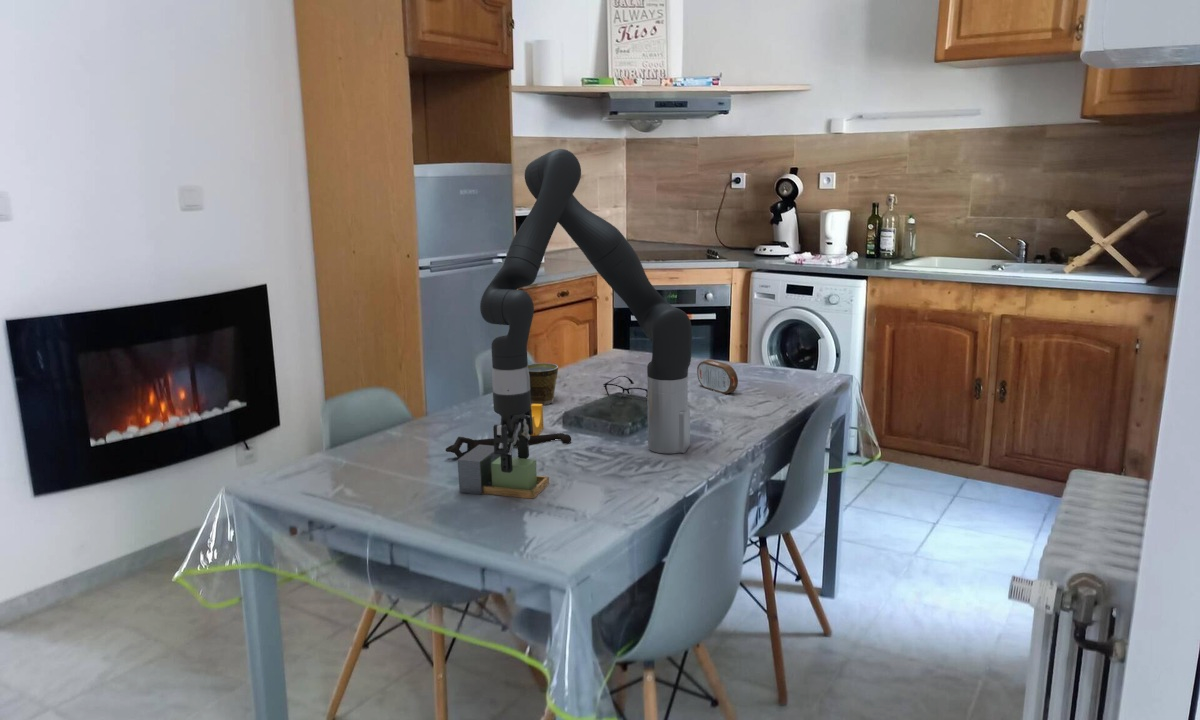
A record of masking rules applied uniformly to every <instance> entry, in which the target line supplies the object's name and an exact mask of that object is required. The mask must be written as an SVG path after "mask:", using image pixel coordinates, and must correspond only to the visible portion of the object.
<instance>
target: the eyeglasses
mask: <svg viewBox="0 0 1200 720" xmlns="http://www.w3.org/2000/svg"><path fill="white" fill-rule="evenodd" d="M620 377H622V378H623V377H624V378H626V379H627V380H628V381H629V382H630V385H634V384H635V383H634V381H633V380H632V378H630V377H629V376H626V375H618V376H616V377H615V378H613V379H610V380H609V381H607V382H605V383H603V385H602V386H603V387H604V388H605V389H604V390H605V391H606V392H605V393H606V394H607V396H609V395H610V393H609V391H608V388H607V386H615V387H617V388H621V390H622V393H626V392H625V391H627V395H628V394H630V390H642V391H645V393H647V388H642V387H628V388H626V387H623V386H622V385H618V384H615V383H611V382H612V381H614V380H616V379H617V378H620ZM645 395H646V396H645V398H646V397H647V394H645Z"/></svg>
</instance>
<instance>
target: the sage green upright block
mask: <svg viewBox="0 0 1200 720" xmlns="http://www.w3.org/2000/svg"><path fill="white" fill-rule="evenodd" d="M512 466H513V470H512V472H510V473H506V472H502V471H501V458H500V457H499V458H498V459H496V460H495V461H494V462H492V463H491V471H492V486H494V487H503V488H513V489H522V490H532V489H533V488H534V487H536V486H537V485H538V484H537V476H538V474H537V459H533V458H527V459H524V458H519V457H513V456H512Z"/></svg>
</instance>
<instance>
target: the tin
mask: <svg viewBox="0 0 1200 720" xmlns="http://www.w3.org/2000/svg"><path fill="white" fill-rule="evenodd" d="M696 370H697V371H696V375H697V379H698V381H699V384H700V385H701V386H702V388H705V389H707V390H710V391H714V392H716V393H720V394H724V395H726V394H730V393H731V394H732V393H734V392H735V391H736V390H737V388H738V384H739V380H738V374H737V371H736V370H735V368H734V367H733V366H732V365H730V364H728V363H724V362H720V361H718V360H715V359H710V358H709V359H706V360H703V361H701V362H699V363H698V365H697V369H696Z"/></svg>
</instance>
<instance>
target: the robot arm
mask: <svg viewBox="0 0 1200 720" xmlns="http://www.w3.org/2000/svg"><path fill="white" fill-rule="evenodd" d="M581 177H582V168H581V164H580V161H579V159H578V157H577V156H576V155H575V154H574V153H573V152H572V151H570V150H567V149H564V148H557V149H553V150H551V151H549V152H546V153H544V154H543V155H541V156H539V157H537V158H536V159H534V160H532V161H531V162H530V163H528V164H527V166H526V168H525V169H524V182H525V184H526V187H527V189H528V191H529V193H530V194H531V195H532V196H533V198H534V199H535V202H534V204H533V206H532V208H531V210H530V211H529V213H528V215H527V216H526V218H525V219H524V221H522V224H521V225H520V227H519V228H518V230H517V231H516V233H515V235H514V236H513V238H512V241H511V243H510V246H509V248H508V251H507V254H506V256H505V259H504V262H503V264H502V266H501V268H500V269H499V270H498V271H497V273H496V275H495V276H494V277H493V279H492V280H491V281H490V282H489V284H488V285H487V287H486V288H485V290H484V292H483V294H482V296H481V298H480V299H481V300H480V302H479V303H480V305H479V309H480V316H481V317H482V319H483V320H484V321H485V322H487V323H488V324H491V325H500V326H501V325H503V326H509V328H508V332H507V334H506V335H501V336H498V337H495V338H494V339H493V340H492V341H491V347H490V348H491V363H492V365H491V366H492V372H491V385H492V388H491V389H492V401H493V411H494V413H495V414H498V415H499V416H500V417H501V418H500V424H493V426H492V427H493V438H494V453H495V454H500V458H501V471H502V472H506V473H510V472H512V470H513V466H512V457H513V449H514V447H513V445H515V444H516V441H517V439H518V441H517V446H516V447H517V458H524V459H529V457H530V450H529V449H530V446H529V445H530V444H528V440H530V435H532V434H533V423H532V410H531V405H532V404H531V394H530V376H529V371H528V365H529V364H528V363H529V362H528V361H529V360H528V342H529V337H530V336H529V335H530V331H531V326H532V321H533V319H534V314H535V313H534V312H535V306H534V302H533V299H532V297H531V295H530V294H529V293H528V292H526V291H525V290H522V289H521V288H524V287H528V286H531V285H533V284H534V282H536V278H537V277H538V273H539V272H540V268H541V265H542V262H543V260H544V256H545V253H546V251H547V248H548V246H549V243H550V240H551V239H552V236H553V234H554V231H555V229H556V228H557V225H558V224H559V225H560V226H561V227H562V229H563V230H564V231H565V232H566V233H567V235H568V236H569V237H570V238H571V240H572V241H573V242H574V243H575V245H576V246H577V247H578V248H579V249H580V250H581V252H582V254H584V255H585V257H586V259H587V260H588V262H589V263H590V264H591V265H592V267H593V268H594V269H595V271H596V272H597V273H598V274H599V275H600V277H602V279H603V280H604V281H605V283H606V284H607V285H608V286H609V287H610V288H611V289H612V291H614V292H615V294H617V295H618V297H620V298H621V300H622V301H623V302H624V303H625V305H626V306H627V307H628V309H629V310H630V312H631V313H632V315H633V316H634V318H635V320H636V321H637V323H638V325H639V326H640V328H641V330H642V332H643V333H644V335H645V336H646V337H647V338H648V339H649V340H650V341H651V342H652V349H651V350H652V353H651V354H652V355H651V356H652V357H651V361H649V363H647V367H646V373H647V374H646V382H647V387H646V389H647V392H646V395H647V399H646V401H647V448H648V450H650V452H651V451H652V452H653V453H654V452H655V453H658V454H677V453H682V454H683V453H686V451H687V450H688V448H689V447H690V446H691V406H690V405H689V404H688V403H689V399H688V397H689V391H688V390H689V385H688V383H689V382H688V380H689V377H688V375H689V367H690V365H691V362H692V347H693V345H692V343H693V330H692V329H693V328H692V322H691V319H690V317H689V316H688V314H687V313H686V311H683V310H682V309H680V308H677V307H676V306H673V305H671V303H669V302H668V301H667V300H666V299H665V298H664V297H663V296H662V295H661V294H660V293H659V291H657V289H656V288H655V287H654V286H653V284H652V283H651V281H650V280H649V278H648V276H647V274H646V272H645V269H644V267H643V264H642V262H641V260H640V258H639V256H638V254H637V252H636V251H635V250H634V248H633V247H632V244H630V242H629V241H628V240H627V239H626V237H625V236H624V234H623V233H622V232H621V231H620V230H619V229H618V228H617V227H616V226H615V225H613V224H612V223H610V222H608V220H606V219H604V218H602V217H601V216H599V215H597V214H596V213H594V212H592V211H590V210H589V209H587V208H586V207H585V206H584V205H583V204H582V203H581V202H580V201H579V200H578V199H577V198H576V196H575V195H574V193H575V191H576V189H577V187H578V185H579V183H580V180H581ZM527 425H528V426H527ZM528 427H529V428H528ZM508 438H509V439H508ZM499 443H500V445H499ZM508 444H509V446H508Z"/></svg>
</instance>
